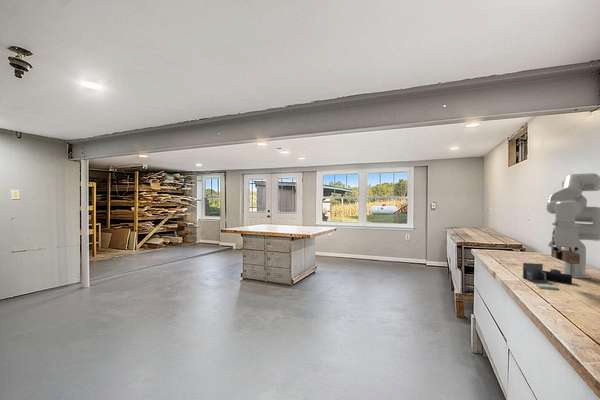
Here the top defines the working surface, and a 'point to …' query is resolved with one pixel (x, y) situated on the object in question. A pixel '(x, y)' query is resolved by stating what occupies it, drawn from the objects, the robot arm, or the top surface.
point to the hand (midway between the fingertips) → (564, 259)
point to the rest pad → (547, 286)
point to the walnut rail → (567, 256)
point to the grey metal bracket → (534, 272)
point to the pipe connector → (558, 276)
